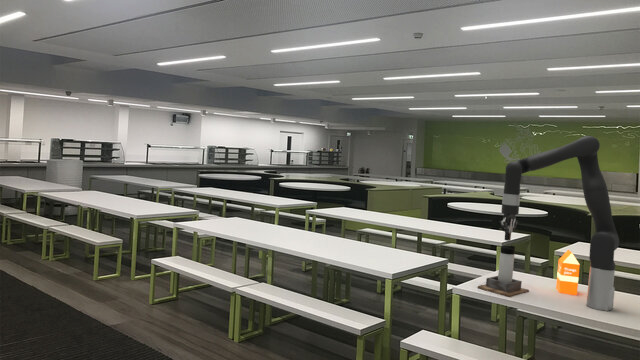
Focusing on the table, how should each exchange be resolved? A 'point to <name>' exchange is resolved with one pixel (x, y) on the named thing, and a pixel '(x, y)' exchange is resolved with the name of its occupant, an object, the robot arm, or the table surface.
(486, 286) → the grey tray on board
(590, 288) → the robot arm
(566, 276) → the orange juice
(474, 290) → the table surface
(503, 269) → the travel mug
